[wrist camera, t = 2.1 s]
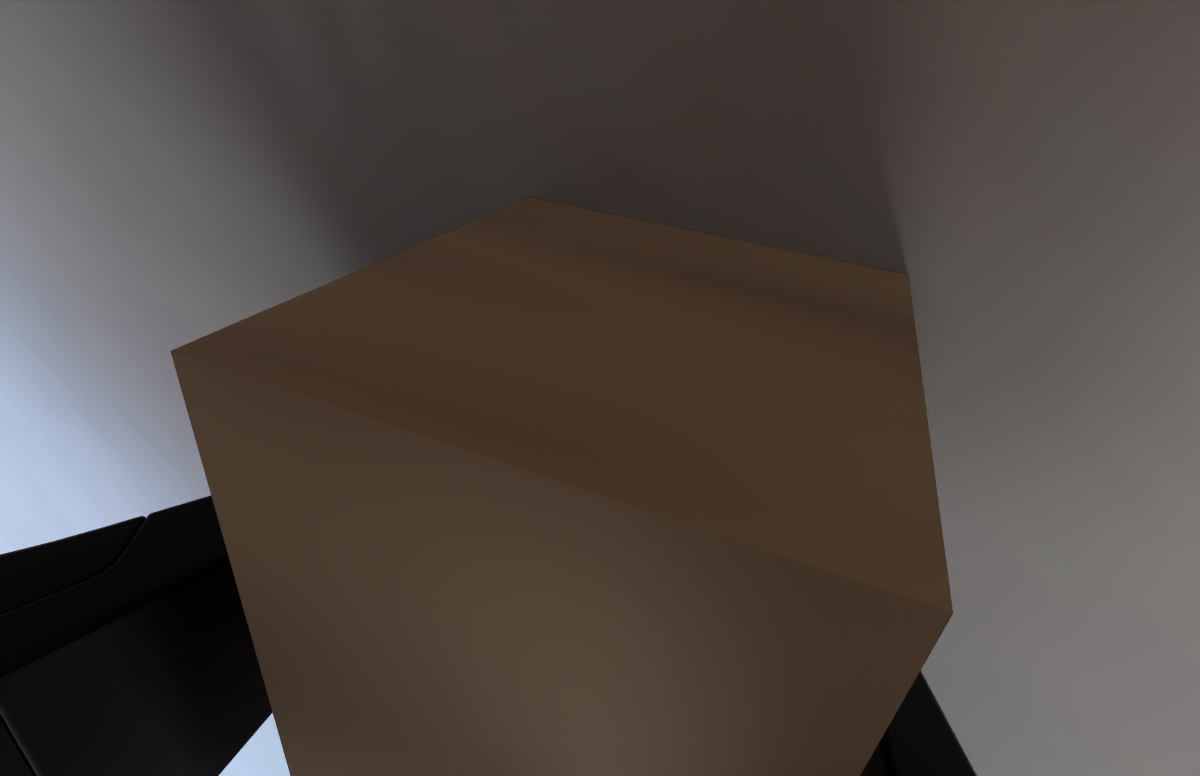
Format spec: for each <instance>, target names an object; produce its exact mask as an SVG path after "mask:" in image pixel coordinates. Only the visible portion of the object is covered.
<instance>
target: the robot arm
mask: <svg viewBox="0 0 1200 776" xmlns="http://www.w3.org/2000/svg"><path fill="white" fill-rule="evenodd" d="M271 714H272V708H271V705H270V701H269V698H268V694H267V690H266V687H265V683H264V680H263V676H262V673H261V669H260V666H259V662H258V659H257V655H256V652H255V648H254V644H253V641H252V637H251V634H250V630H249V627H248V623H247V620H246V616H245V613H244V609H243V606H242V602H241V598H240V595H239V591H238V588H237V584H236V581H235V577H234V574H233V570H232V567H231V563H230V560H229V556H228V552H227V549H226V545H225V542H224V538H223V535H222V531H221V528H220V524H219V521H218V517H217V513H216V510H215V506H214V503H213V499H212V496H207V497H204V498H201V499H197V500H194V501H191V502H187V503H184V504H181V505H177V506H174V507H170V508H167V509H164V510H160V511H157V512H154V513H151V514H149V515H148V516H147V518H146V517H144V516H140V517H136V518H133V519H130V520H126V521H123V522H120V523H116V524H113V525H110V526H106V527H103V528H99V529H95V530H92V531H88V532H85V533H81V534H78V535H74V536H71V537H67V538H63V539H60V540H56V541H53V542H49V543H45V544H41V545H37V546H33V547H29V548H25V549H21V550H17V551H13V552H9V553H5V554H1V555H0V776H219V774H220V773H221V772H222V771H223V770H224V769H225V767H226V766H227V765H228V764H229V763H230V762H231V760H232V759H233V758H234V757H235V756H236V755H237V753H238V752H239V751H240V750H241V749H242V747H243V746H244V745H245V744H246V743H247V742H248V740H249V739H250V738H251V737H252V736H253V735H254V733H255V732H256V731H257V730H258V729H259V728H260V726H261V725H262V724H263V723H264V722H265V721H266V719H267V718H268V717H269V716H270V715H271ZM860 776H977V775H976V773H975V771H974V770H973V768H972V766H971V764H970V762H969V760H968V758H967V756H966V755H965V753H964V751H963V749H962V747H961V745H960V743H959V741H958V740H957V738H956V736H955V734H954V732H953V730H952V728H951V727H950V725H949V723H948V721H947V719H946V717H945V715H944V713H943V712H942V710H941V708H940V706H939V704H938V702H937V700H936V698H935V697H934V695H933V693H932V691H931V689H930V687H929V685H928V683H927V682H926V680H925V678H924V676H923V674H922V672H921V670H920V672H919V674H918V675H917V677H916V679H915V681H914V682H913V684H912V686H911V688H910V689H909V691H908V693H907V695H906V696H905V698H904V700H903V702H902V703H901V705H900V707H899V709H898V710H897V712H896V714H895V716H894V717H893V719H892V721H891V723H890V724H889V726H888V728H887V730H886V731H885V733H884V735H883V737H882V738H881V740H880V742H879V744H878V745H877V747H876V749H875V751H874V752H873V754H872V756H871V758H870V759H869V761H868V763H867V765H866V766H865V768H864V770H863V772H862V773H861V775H860Z"/></svg>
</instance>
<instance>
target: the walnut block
mask: <svg viewBox="0 0 1200 776" xmlns="http://www.w3.org/2000/svg"><path fill="white" fill-rule="evenodd" d="M171 354H172V358H173V361H174V365H175V368H176V372H177V375H178V379H179V383H180V386H181V390H182V393H183V397H184V400H185V404H186V407H187V411H188V414H189V418H190V421H191V425H192V429H193V432H194V436H195V439H196V443H197V446H198V450H199V453H200V457H201V460H202V464H203V467H204V471H205V475H206V478H207V482H208V485H209V489H210V492H211V496H212V499H213V503H214V506H215V510H216V513H217V517H218V521H219V524H220V528H221V531H222V535H223V538H224V542H225V545H226V549H227V552H228V556H229V560H230V563H231V567H232V570H233V574H234V577H235V581H236V584H237V588H238V591H239V595H240V598H241V602H242V606H243V609H244V613H245V616H246V620H247V623H248V627H249V630H250V634H251V637H252V641H253V644H254V648H255V652H256V655H257V659H258V662H259V666H260V669H261V673H262V676H263V680H264V683H265V687H266V690H267V694H268V698H269V701H270V705H271V708H272V712H273V715H274V719H275V722H276V726H277V729H278V733H279V736H280V740H281V744H282V747H283V751H284V754H285V758H286V761H287V765H288V768H289V772H290V775H291V776H860V775H861V773H862V772H863V770H864V768H865V766H866V765H867V763H868V761H869V759H870V758H871V756H872V754H873V752H874V751H875V749H876V747H877V745H878V744H879V742H880V740H881V738H882V737H883V735H884V733H885V731H886V730H887V728H888V726H889V724H890V723H891V721H892V719H893V717H894V716H895V714H896V712H897V710H898V709H899V707H900V705H901V703H902V702H903V700H904V698H905V696H906V695H907V693H908V691H909V689H910V688H911V686H912V684H913V682H914V681H915V679H916V677H917V675H918V674H919V672H920V670H921V668H922V667H923V665H924V663H925V661H926V660H927V658H928V656H929V654H930V653H931V651H932V649H933V647H934V646H935V644H936V642H937V640H938V639H939V637H940V635H941V633H942V632H943V630H944V628H945V626H946V625H947V623H948V621H949V619H950V618H951V616H952V614H953V610H952V602H951V595H950V587H949V580H948V572H947V564H946V557H945V549H944V542H943V534H942V526H941V519H940V511H939V504H938V496H937V489H936V481H935V473H934V466H933V458H932V451H931V443H930V436H929V428H928V420H927V413H926V405H925V398H924V390H923V383H922V375H921V367H920V360H919V352H918V345H917V337H916V330H915V322H914V314H913V307H912V299H911V292H910V284H909V277H908V275H907V274H902V273H897V272H892V271H887V270H883V269H878V268H873V267H868V266H863V265H858V264H853V263H848V262H844V261H839V260H834V259H829V258H824V257H819V256H814V255H809V254H804V253H800V252H795V251H790V250H785V249H780V248H775V247H770V246H765V245H761V244H756V243H751V242H746V241H741V240H736V239H731V238H726V237H722V236H717V235H712V234H707V233H702V232H697V231H692V230H687V229H682V228H678V227H673V226H668V225H663V224H658V223H653V222H648V221H643V220H639V219H634V218H629V217H624V216H619V215H614V214H609V213H604V212H599V211H595V210H590V209H585V208H580V207H575V206H570V205H565V204H560V203H556V202H551V201H546V200H541V199H536V198H531V197H528V198H526V199H524V200H521V201H519V202H517V203H514V204H512V205H510V206H507V207H505V208H503V209H500V210H498V211H496V212H493V213H491V214H489V215H486V216H484V217H482V218H479V219H477V220H475V221H472V222H470V223H468V224H465V225H463V226H461V227H458V228H456V229H454V230H451V231H449V232H447V233H444V234H442V235H440V236H437V237H435V238H433V239H430V240H428V241H426V242H423V243H421V244H419V245H416V246H414V247H412V248H409V249H407V250H405V251H402V252H400V253H398V254H395V255H393V256H391V257H388V258H386V259H384V260H381V261H379V262H377V263H374V264H372V265H370V266H367V267H365V268H363V269H360V270H358V271H356V272H353V273H351V274H349V275H346V276H344V277H342V278H339V279H337V280H335V281H332V282H330V283H328V284H325V285H323V286H321V287H318V288H316V289H314V290H312V291H309V292H307V293H305V294H302V295H300V296H298V297H295V298H293V299H291V300H288V301H286V302H284V303H281V304H279V305H277V306H274V307H272V308H270V309H267V310H265V311H263V312H260V313H258V314H256V315H253V316H251V317H249V318H246V319H244V320H242V321H239V322H237V323H235V324H232V325H230V326H228V327H225V328H223V329H221V330H218V331H216V332H214V333H211V334H209V335H207V336H204V337H202V338H200V339H197V340H195V341H193V342H190V343H188V344H186V345H183V346H181V347H179V348H176V349H174V350H172V351H171Z"/></svg>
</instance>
